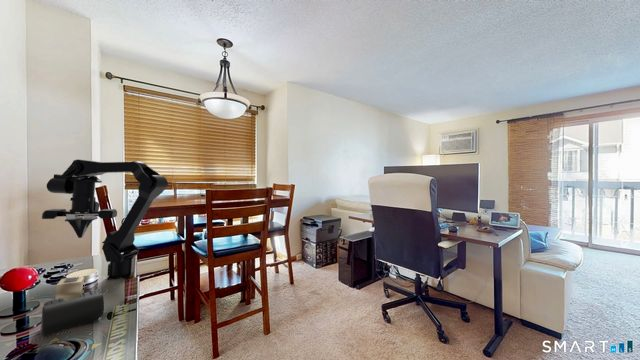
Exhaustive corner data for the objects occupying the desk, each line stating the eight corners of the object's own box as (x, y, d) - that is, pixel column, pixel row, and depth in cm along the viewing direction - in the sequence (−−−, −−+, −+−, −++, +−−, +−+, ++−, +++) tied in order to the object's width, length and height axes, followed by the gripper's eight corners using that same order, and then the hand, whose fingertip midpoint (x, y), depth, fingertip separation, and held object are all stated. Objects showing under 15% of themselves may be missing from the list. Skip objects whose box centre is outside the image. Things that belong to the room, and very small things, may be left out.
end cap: (41, 343, 51) (43, 311, 51) (38, 329, 56) (41, 300, 56) (103, 323, 59) (105, 296, 59) (96, 312, 64) (98, 287, 64)
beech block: (83, 292, 74) (85, 275, 74) (80, 298, 70) (81, 281, 70) (60, 295, 71) (61, 278, 71) (55, 303, 67) (56, 284, 67)
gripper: (122, 194, 98) (120, 232, 98) (60, 192, 90) (57, 233, 90) (113, 195, 88) (110, 238, 88) (42, 194, 80) (39, 241, 80)
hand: (80, 237), depth 87 cm, fingers closed
